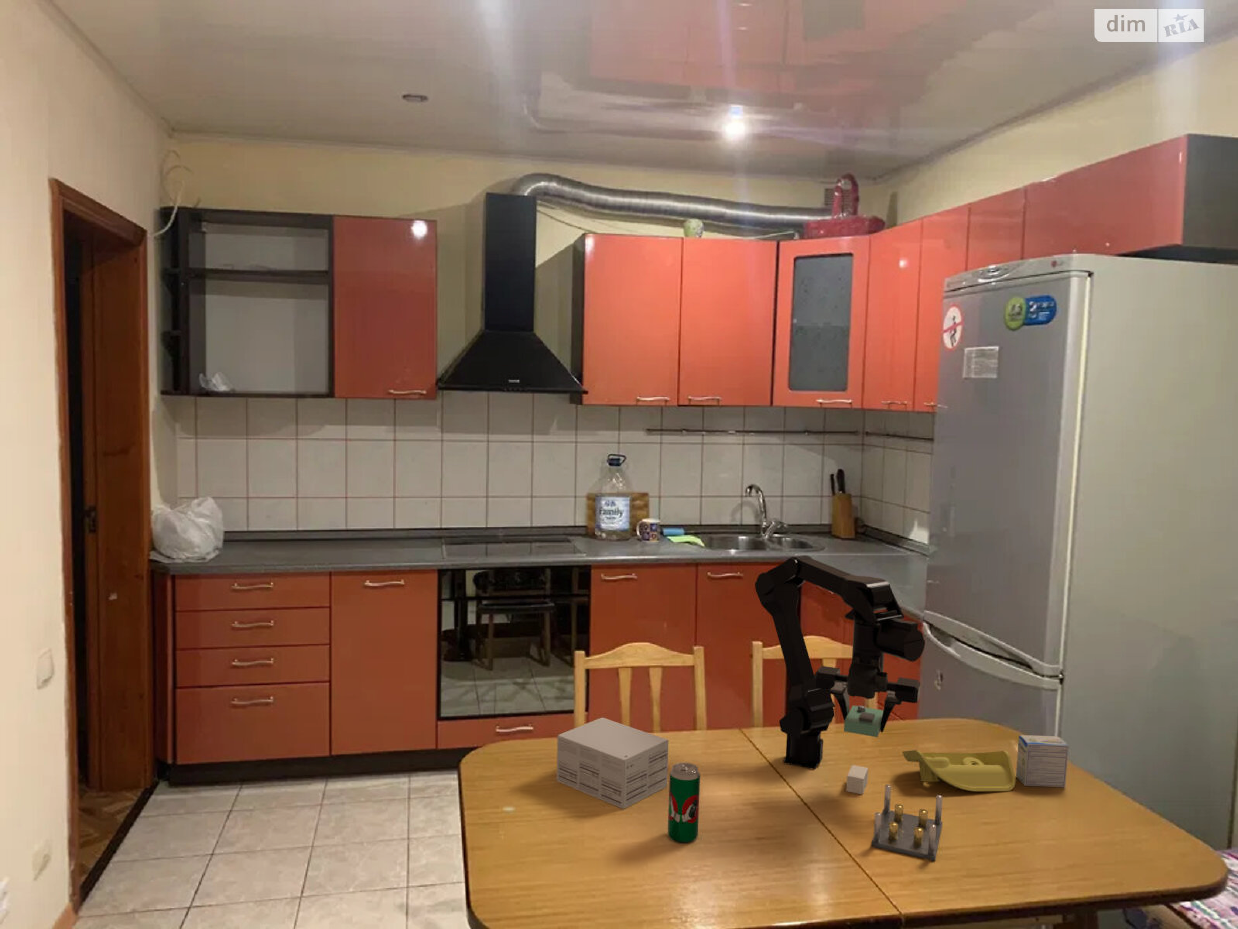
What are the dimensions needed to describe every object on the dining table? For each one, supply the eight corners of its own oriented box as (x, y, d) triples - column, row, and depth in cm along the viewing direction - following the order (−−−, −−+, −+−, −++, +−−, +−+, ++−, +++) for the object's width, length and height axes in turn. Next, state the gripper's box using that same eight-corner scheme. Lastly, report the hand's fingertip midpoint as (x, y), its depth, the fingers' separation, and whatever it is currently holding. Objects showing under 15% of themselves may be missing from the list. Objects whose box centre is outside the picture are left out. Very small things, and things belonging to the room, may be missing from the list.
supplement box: (668, 787, 170) (670, 739, 169) (623, 811, 160) (625, 760, 159) (601, 760, 181) (602, 715, 180) (555, 781, 171) (556, 733, 170)
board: (843, 731, 166) (844, 716, 166) (852, 715, 175) (852, 701, 174) (877, 737, 164) (878, 722, 164) (884, 720, 172) (885, 706, 172)
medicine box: (1055, 778, 178) (1058, 735, 178) (1066, 788, 174) (1069, 745, 173) (1015, 776, 179) (1018, 734, 178) (1024, 787, 174) (1027, 743, 173)
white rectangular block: (846, 791, 170) (847, 775, 170) (851, 780, 175) (852, 765, 175) (862, 794, 169) (863, 779, 169) (867, 783, 174) (868, 768, 174)
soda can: (701, 833, 153) (703, 764, 152) (693, 847, 148) (696, 776, 147) (672, 827, 155) (674, 759, 153) (663, 841, 150) (666, 771, 149)
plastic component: (980, 753, 184) (1012, 750, 175) (986, 792, 181) (1018, 791, 172) (893, 752, 179) (920, 749, 170) (897, 792, 177) (925, 791, 168)
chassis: (871, 846, 150) (873, 814, 149) (882, 813, 162) (884, 783, 161) (935, 861, 146) (937, 828, 145) (942, 825, 158) (944, 795, 157)
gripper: (808, 651, 164) (805, 734, 166) (916, 666, 157) (911, 753, 158) (821, 636, 175) (817, 714, 176) (923, 649, 167) (918, 731, 168)
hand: (864, 728), depth 169 cm, fingers closed on board, 6 cm apart
